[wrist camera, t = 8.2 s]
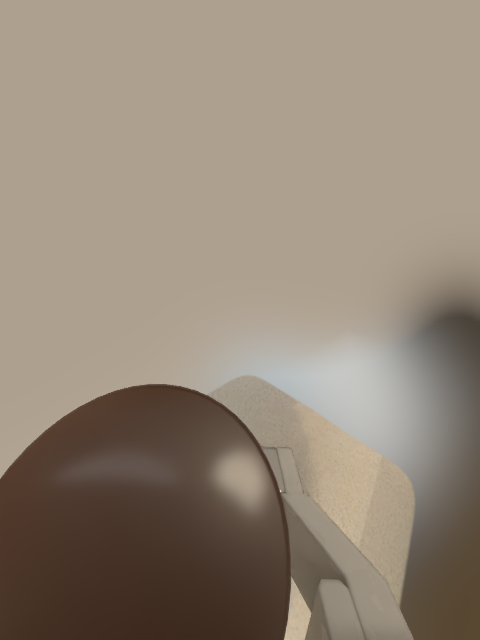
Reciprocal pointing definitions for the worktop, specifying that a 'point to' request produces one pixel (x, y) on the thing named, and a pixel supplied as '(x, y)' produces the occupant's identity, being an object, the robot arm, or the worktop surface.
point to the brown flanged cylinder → (144, 526)
